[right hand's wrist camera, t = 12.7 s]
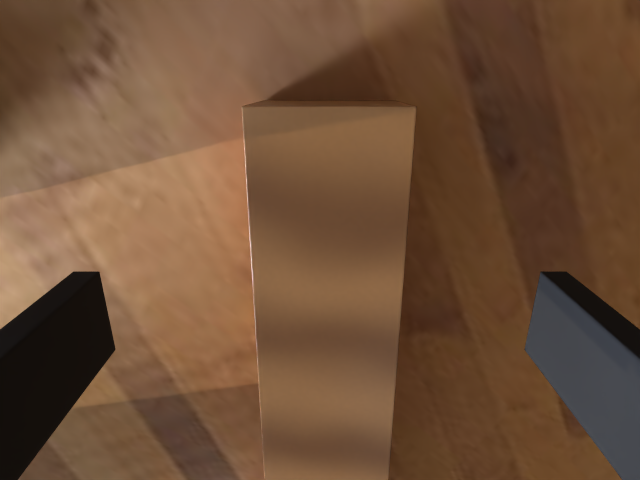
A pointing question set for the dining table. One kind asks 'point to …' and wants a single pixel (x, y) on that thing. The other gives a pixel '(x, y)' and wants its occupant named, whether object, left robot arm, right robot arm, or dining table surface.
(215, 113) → the dining table surface
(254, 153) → the thick board
